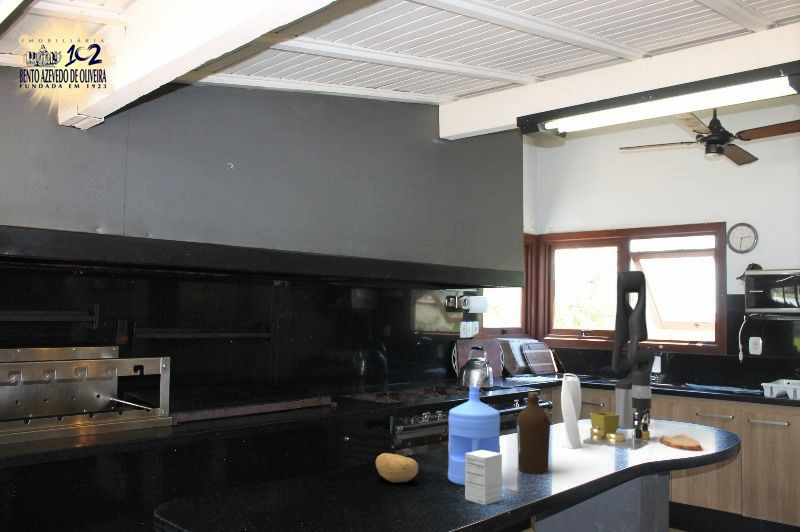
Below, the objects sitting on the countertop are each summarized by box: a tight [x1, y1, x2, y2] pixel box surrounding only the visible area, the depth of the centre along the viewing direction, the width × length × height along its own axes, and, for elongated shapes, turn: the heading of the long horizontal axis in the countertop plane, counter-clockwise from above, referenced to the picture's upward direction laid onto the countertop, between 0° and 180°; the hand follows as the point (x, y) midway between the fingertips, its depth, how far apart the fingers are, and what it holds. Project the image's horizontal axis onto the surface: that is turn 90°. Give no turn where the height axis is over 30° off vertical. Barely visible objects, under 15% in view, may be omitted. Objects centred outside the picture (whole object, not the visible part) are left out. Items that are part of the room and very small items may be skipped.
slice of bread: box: [659, 433, 703, 452], centre depth 273 cm, size 18×18×4 cm
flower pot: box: [589, 411, 619, 435], centre depth 292 cm, size 9×9×9 cm
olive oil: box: [516, 391, 551, 475], centre depth 227 cm, size 11×11×25 cm
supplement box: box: [464, 450, 503, 506], centre depth 191 cm, size 7×7×13 cm
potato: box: [375, 452, 419, 483], centre depth 209 cm, size 10×14×8 cm
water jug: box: [447, 386, 501, 487], centre depth 213 cm, size 16×16×28 cm
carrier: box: [583, 427, 648, 450], centre depth 275 cm, size 16×20×6 cm
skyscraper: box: [560, 372, 582, 450], centre depth 267 cm, size 8×8×28 cm
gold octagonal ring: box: [633, 428, 651, 441], centre depth 284 cm, size 6×6×4 cm
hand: (641, 436), depth 284 cm, fingers open, 8 cm apart
